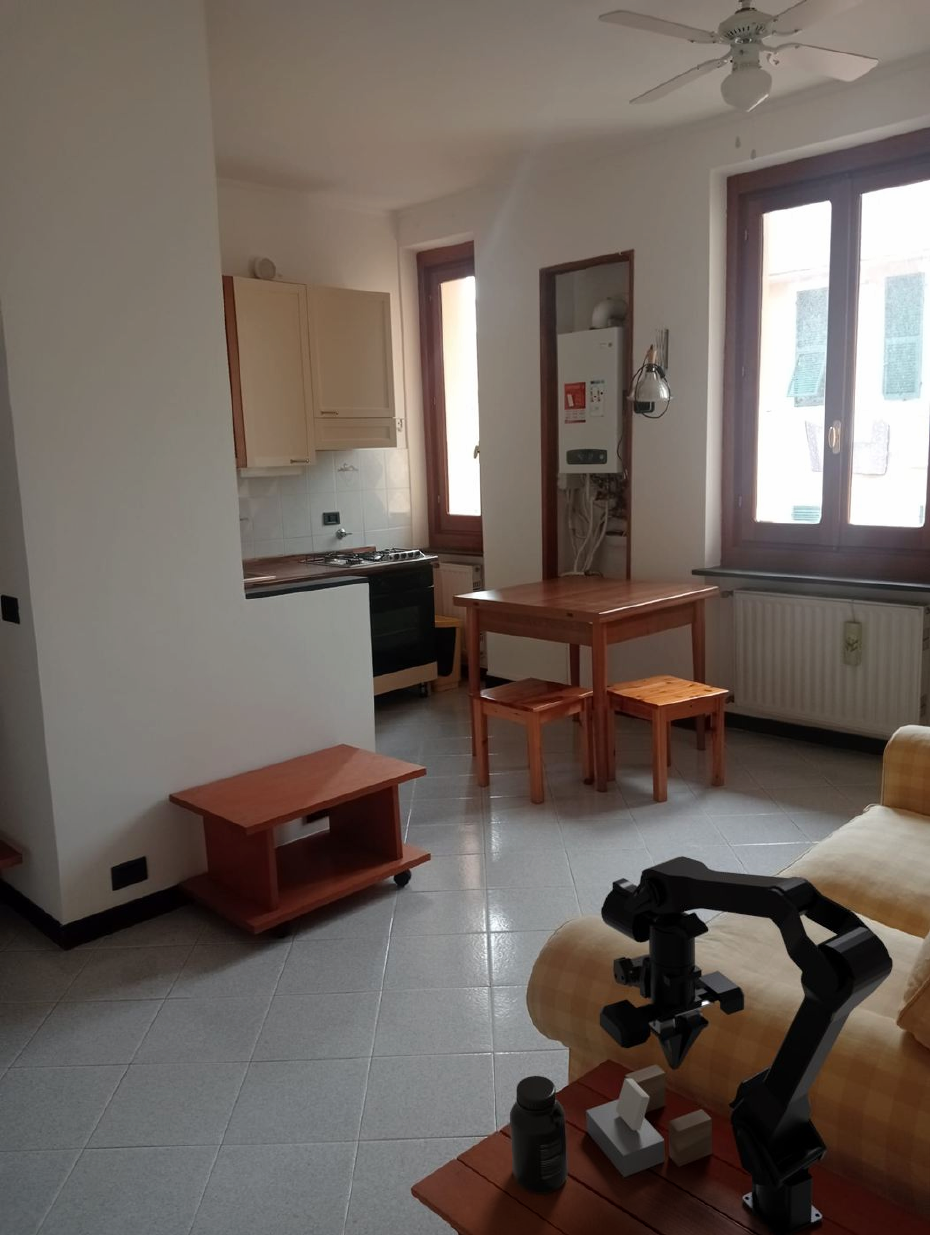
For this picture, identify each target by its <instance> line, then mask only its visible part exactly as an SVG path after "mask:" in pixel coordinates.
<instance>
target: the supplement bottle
mask: <svg viewBox="0 0 930 1235" xmlns="http://www.w3.org/2000/svg"><path fill="white" fill-rule="evenodd" d="M556 1091H557V1090H556V1086H555V1083H554V1082H553V1080H550V1079H549V1078H547V1077H545V1076H542V1075H532V1076H527V1077H524V1078H523V1079H521V1081H519V1082H518V1083H517V1085H516V1091H515V1092H516V1099H515V1102H514V1103H513V1105H512V1107H511V1109H510V1112H509V1124H510V1125H509V1127H510V1141H511V1142H510V1143H511V1158H512V1160H511V1161H512V1173H513V1177H514V1179H515V1182H517V1184H518V1186H520V1187H521V1188H522V1189H523V1190H525V1191H527V1192H530V1193H534V1194H547V1193H551V1192H554V1191H556V1190H558V1189H559V1188H560V1187H561V1186H562V1185H563V1184H564V1183H565V1181H566V1180H567V1177H568V1173H569V1172H568V1171H569V1170H568V1147H567V1146H568V1145H567V1127H566V1126H567V1124H566V1114H565V1109H564V1107H563V1106H562V1104H561V1103H560V1102H559V1101H558V1100H557V1092H556Z"/></svg>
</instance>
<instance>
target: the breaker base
mask: <svg viewBox="0 0 930 1235" xmlns="http://www.w3.org/2000/svg"><path fill="white" fill-rule="evenodd" d="M618 1100H619V1098H617V1099H615V1100H612V1101H609V1102H607V1103H604V1104H601V1105H598V1106H595V1107H592V1108H589V1109H587V1110H585V1114H586V1115H585V1117H586V1118H585V1119H586V1122H585V1123H586V1132H587V1133H588V1134H589V1136H590V1137H591V1138H592V1139H593V1141H594V1142H595V1143H596V1144H597V1145H598V1147H599V1148H600V1149H601V1151H602V1152H603V1153H604V1154H605V1156H606V1157H607V1158H608V1159H609V1161H610V1162H611V1163H612V1164H613V1165H614V1167H615V1168H616V1169H617V1171H618V1172H619V1173H620V1174H621V1175H622V1177H623V1178H626V1177H629V1176H631V1175H633V1174H636V1173H638V1172H641V1171H644V1170H646V1169H648V1168H652V1167H654V1166H656V1165H659V1164H662V1163H664V1162H665V1161H666V1153H665V1152H666V1149H665V1148H666V1142H665V1141H666V1140H665V1139H664V1138H663V1136H662V1135H661V1134H660V1133H659V1132H658V1131H657V1130H656V1129H655V1128H654V1127H653V1125H652V1124H651V1123H650V1122H649V1120H648V1119H646V1118H645V1117H644V1119H643V1122H642V1126H641V1129H640V1130H632V1129H631V1128H630V1127H629V1125H628V1124H627V1123H626V1122H625V1121H624V1120H623V1119H622V1117H621V1116H620V1115H619V1114H618V1113H617V1112H616V1107H617V1104H618Z"/></svg>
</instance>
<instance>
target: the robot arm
mask: <svg viewBox="0 0 930 1235" xmlns="http://www.w3.org/2000/svg"><path fill="white" fill-rule="evenodd" d="M611 884H612V889H611V890H610V892H609V893H608V894H607V895H606V897H605V900H604V901H603V904H602V907H601V909H600V913H601V914H600V915H601V918H602V921H603V922H604V924H605V925H607V926H608V927H610V928H612V929H614V930H616V931H618V932H619V933H621V934H622V935H624V936H625V937H628V938H629V939H630V940H633V941H635V942H636V943H647V942H648V953H647V954H643V955H640V956H636V957H632V958H630V957H626V956H622V957H618V958H615V959H613V965H612V966H613V967H612V968H613V969H612V970H613V976H614V977H613V978H614V981H615V982H616V983H617V984H618V985H622V986H627V987H629V988H632V987H635V988H638V989H639V995H640V996H641V997H642V998H643V999H649V1003H646V1004H644V1005H641V1006H637V1007H636V1006H635V1005H634V1004H633V1003H632V1002H631V1001H630V1000H628V999H626V998H625V999H623V1000H620V1001H616V1002H613V1003H610V1004H607V1005H604V1006H603V1007H601V1008H600V1011H599V1026H600V1027H601V1028H602V1029H603V1031H604V1032H605V1033H607V1035H609V1037H611V1039H612V1040H613V1041H614V1042H616V1044H618V1045H619V1046H620V1048H624V1049H631V1048H633V1047H637V1046H640V1045H642V1044H645V1043H647V1041H648V1040H649V1038H650V1037H651V1035H652V1034H653V1035H654V1036H655V1037H656V1038H657V1039H658V1040H657V1041H658V1042H659V1045H660V1048H661V1050H662V1052H663V1055H664V1058H665V1060H666V1062H667V1064H668V1067H670V1069H671V1070H672V1071H675V1070H678V1069H680V1067H681V1065H682V1063H683V1062H684V1060H685V1058H687V1054H688V1053H689V1051H690V1049H691V1048H692V1047H693V1044H694V1043H695V1041H696V1040H697V1039H698V1037H699V1036H700V1034H701V1033H702V1032H703V1030H704V1029H705V1028H708V1027H709V1024H710V1023H709V1020H707V1019H706V1018H705V1017H704V1016H703V1011H702V1008H705V1007H710V1006H712V1005H715V1003H716V1002H717V1001H718V1002H719V1009H720V1010H721V1011H723V1013H724V1014H726V1015H727V1016H729V1015H732V1014H735V1013H738V1012H741V1011H743V1010H745V993H744V990H743V989H742V988H741V987H740V986H739V985H738V984H736V983H735V982H734V981H732V980H731V979H730V978H729V977H727V976H726V975H724V974H723V973H722V972H720V971H719V970H716V971H713V972H710V973H706V974H704V975H703V974H702V972H703V970H702V969H701V967H699V966H698V965H696V938H698V937H700V936H701V935H705V934H707V933H708V932H709V931H710V930H709V927H708V926H707V924H706V923H705V922H704V921H703V920H702V919H700V918H699V916H698V915H697V913H696V912H695V911H694V910H709V911H717V912H723V913H728V914H738V915H744V916H749V917H750V916H751V917H756V918H764V919H769V920H771V922H773V924H774V925H775V926H776V927H777V928H778V929H779V932H780V935H781V938H782V941H783V944H784V947H785V950H786V952H787V955H788V957H789V959H790V960H791V961H792V962H793V963H794V964H795V965H796V966H797V967H798V968H799V970H800V971H801V974H800V983H801V987H802V991H803V993H804V995H803V999H802V1001H801V1003H800V1005H799V1007H798V1009H797V1012H796V1013H795V1016H794V1018H793V1019H792V1022H791V1024H790V1026H789V1028H788V1030H787V1032H786V1034H785V1036H784V1039H782V1043H781V1044H780V1047H779V1049H778V1050H777V1053H776V1055H775V1056H774V1059H773V1060H772V1063H771V1065H769V1066H767V1067H766V1068H764V1069H762V1070H760V1071H759V1072H757V1073H755V1074H754V1075H752V1076H750V1077H748V1078H747V1079H744V1080H743V1081H742V1082H740V1084H739V1085H738V1086H737V1089H736V1094H735V1097H734V1100H732V1101H731V1102H730V1103H729V1104H728V1106H729V1108H731V1109H732V1110H731V1113H730V1116H729V1118H730V1120H729V1122H730V1125H731V1126H732V1132H733V1138H734V1140H735V1141H734V1142H735V1145H736V1150H737V1153H738V1157H739V1160H740V1165H741V1168H742V1169H743V1170H745V1171H746V1172H747V1173H748V1174H749V1176H750V1178H751V1189H752V1191H751V1192H748V1193H747V1194H745V1195H743V1196H742V1203H743V1204H744V1205H745V1206H746V1207H747V1208H748V1209H749V1210H750V1212H752V1214H753V1215H755V1217H756V1218H758V1220H759V1221H760V1222H761V1223H762V1224H763V1225H764V1226H765V1228H767V1230H769V1232H770V1233H771V1234H772V1235H794V1234H796V1233H798V1232H800V1231H803V1230H805V1229H807V1228H809V1227H812V1226H814V1225H816V1224H818V1223H820V1222H822V1221H823V1214H822V1213H820V1211H819V1210H818V1209H816V1208H815V1206H813V1176H812V1174H811V1173H809V1172H810V1171H809V1168H810V1167H811V1166H813V1165H814V1164H816V1163H817V1162H821V1161H822V1160H823V1159H824V1158H825V1155H826V1153H827V1151H828V1148H827V1145H826V1142H824V1140H823V1139H822V1136H821V1135H820V1133H819V1132H818V1130H817V1128H816V1126H815V1125H814V1123H813V1121H812V1120H811V1118H810V1116H811V1111H812V1105H811V1100H810V1098H809V1095H808V1094H809V1092H810V1090H811V1088H812V1087H813V1084H814V1082H815V1081H816V1078H817V1077H818V1075H819V1073H820V1071H821V1069H822V1067H823V1065H824V1063H825V1062H826V1059H827V1058H828V1056H829V1054H830V1053H831V1050H832V1049H833V1047H834V1044H835V1043H836V1041H837V1039H838V1037H839V1035H840V1033H841V1032H842V1030H843V1028H844V1026H845V1024H846V1022H847V1020H848V1018H849V1016H850V1014H851V1013H852V1011H853V1010H854V1009H855V1008H857V1007H858V1006H859V1005H860V1004H861V1003H862V1002H863V1001H864V1000H866V999H868V997H870V996H871V995H872V994H873V993H874V992H875V991H876V990H877V989H878V988H879V987H880V986H881V985H882V984H883V983H884V981H886V979H887V978H888V977H889V976H890V974H891V973H892V972H893V971H892V970H893V968H894V967H893V966H894V965H893V962H894V960H893V958H892V957H891V956H890V953H889V950H888V949H887V946H886V945H885V944H884V942H883V940H882V939H880V937H879V936H878V935H877V934H875V932H874V931H873V930H872V929H871V928H870V927H869V926H868V925H867V924H866V923H865V922H864V921H863V920H862V919H861V918H860V917H859V916H858V915H857V914H856V913H855V912H854V911H852V910H851V909H849V908H848V907H845V906H844V905H842V904H840V903H839V902H836V901H834V900H833V899H830V898H829V897H827V896H825V895H824V894H822V893H821V892H820V890H819V889H817V888H816V887H815V886H814V885H813V883H811V881H809V880H808V879H807V878H804V877H801V876H800V877H799V876H791V877H782V876H771V875H760V874H751V873H749V874H748V873H740V872H739V873H738V872H731V871H730V872H728V871H718V870H714V869H710V868H709V867H708V866H707V865H706V863H704V862H703V861H699V860H696V859H693V858H690V857H688V856H681V855H680V856H677V857H674V858H672V859H668V860H667V861H664V862H661V863H658V864H655V865H653V866H650V867H648V868H644V870H642V871H641V875H640V880H639V883H638V884H637V885H636V884H634V883H632V882H631V881H630V880H628V879H626V878H624V877H622V878H619V879H617V880H615V881H612V883H611ZM688 911H689V912H690V911H693V912H692V913H687V912H688ZM802 916H805V917H806V918H807V919H809V920H810V921H811V922H814V923H816V924H817V925H819V926H821V927H823V928H824V929H827V930H828V931H830V932H831V933H834V934H836V935H834V936H832V937H830V938H828V939H825V940H823V941H821V942H820V943H817V944H816V943H815V941H813V940H812V939H811V938H810V936H808V934H807V932H806V929H805V926H804V924H803V921H802V918H801V917H802Z"/></svg>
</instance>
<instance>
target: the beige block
mask: <svg viewBox="0 0 930 1235" xmlns="http://www.w3.org/2000/svg"><path fill="white" fill-rule="evenodd" d="M712 1123H713V1122H712V1118H711V1117H710V1115H708V1114H707V1113H706V1111H704V1110H703V1109H702V1108H701V1109H698V1110H695V1111H692V1112H690V1113H687V1114H685V1115H682V1116H679V1117H676V1118H674V1119H671V1120H669V1121H668V1148H669V1150H668V1156H669V1158H670V1159H671V1160H672V1161H673V1162H674V1163H675V1164H676V1166H677V1167H683V1166H685V1165H688V1164H690V1163H692V1162H695V1161H697V1160H700V1159H703V1158H704V1157H705V1158H706V1157H707V1156H710V1155H712V1152H713V1151H712V1150H713V1149H712V1146H713V1145H712V1143H713V1141H712V1140H713V1139H712V1138H713V1136H712V1133H713V1131H712V1130H713V1129H712V1127H713V1126H712V1125H713V1124H712Z"/></svg>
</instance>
